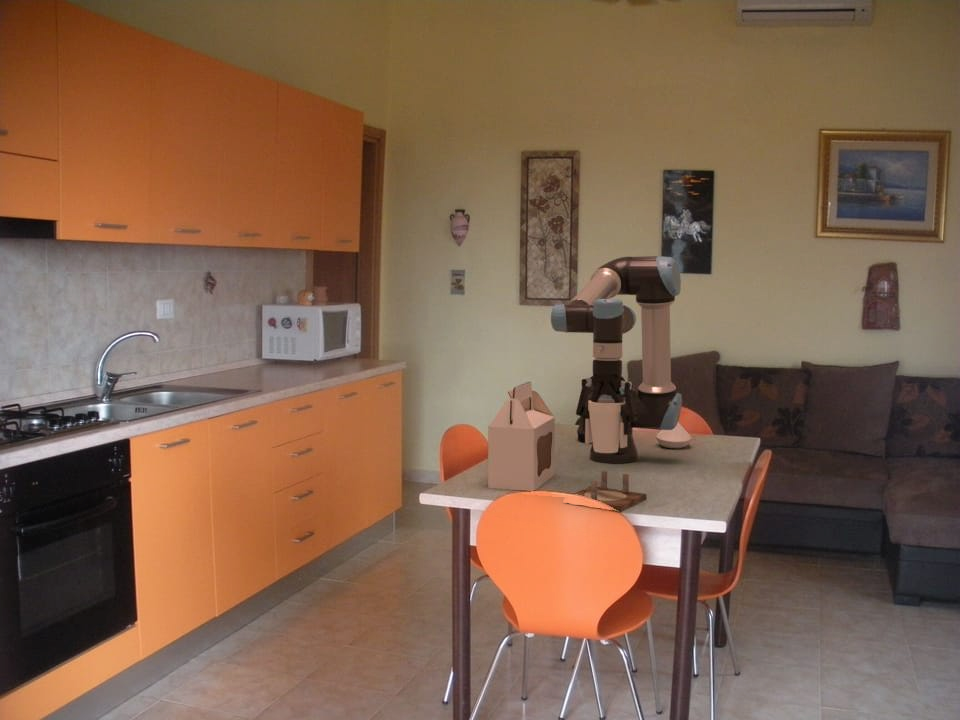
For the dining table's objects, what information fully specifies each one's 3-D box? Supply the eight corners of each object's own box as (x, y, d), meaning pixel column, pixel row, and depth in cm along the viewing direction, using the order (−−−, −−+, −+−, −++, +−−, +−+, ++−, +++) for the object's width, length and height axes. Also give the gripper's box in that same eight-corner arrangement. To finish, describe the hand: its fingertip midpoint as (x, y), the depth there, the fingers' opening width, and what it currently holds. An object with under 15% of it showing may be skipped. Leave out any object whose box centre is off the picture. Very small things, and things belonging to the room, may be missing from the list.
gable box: (511, 472, 282) (512, 379, 279) (554, 475, 277) (555, 381, 275) (487, 488, 261) (487, 388, 258) (533, 492, 256) (534, 390, 254)
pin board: (592, 491, 257) (592, 467, 257) (646, 499, 248) (646, 475, 248) (563, 503, 244) (563, 478, 244) (619, 512, 235) (619, 486, 235)
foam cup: (620, 447, 250) (621, 398, 248) (627, 454, 240) (628, 403, 239) (585, 447, 249) (585, 398, 248) (590, 454, 240) (591, 403, 239)
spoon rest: (691, 451, 315) (692, 430, 314) (656, 450, 317) (656, 429, 316) (688, 439, 338) (689, 419, 337) (655, 437, 340) (655, 418, 339)
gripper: (562, 357, 246) (561, 442, 248) (640, 362, 233) (638, 452, 236) (576, 355, 252) (575, 438, 254) (653, 360, 240) (651, 447, 242)
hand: (606, 445), depth 245 cm, fingers closed on foam cup, 9 cm apart
